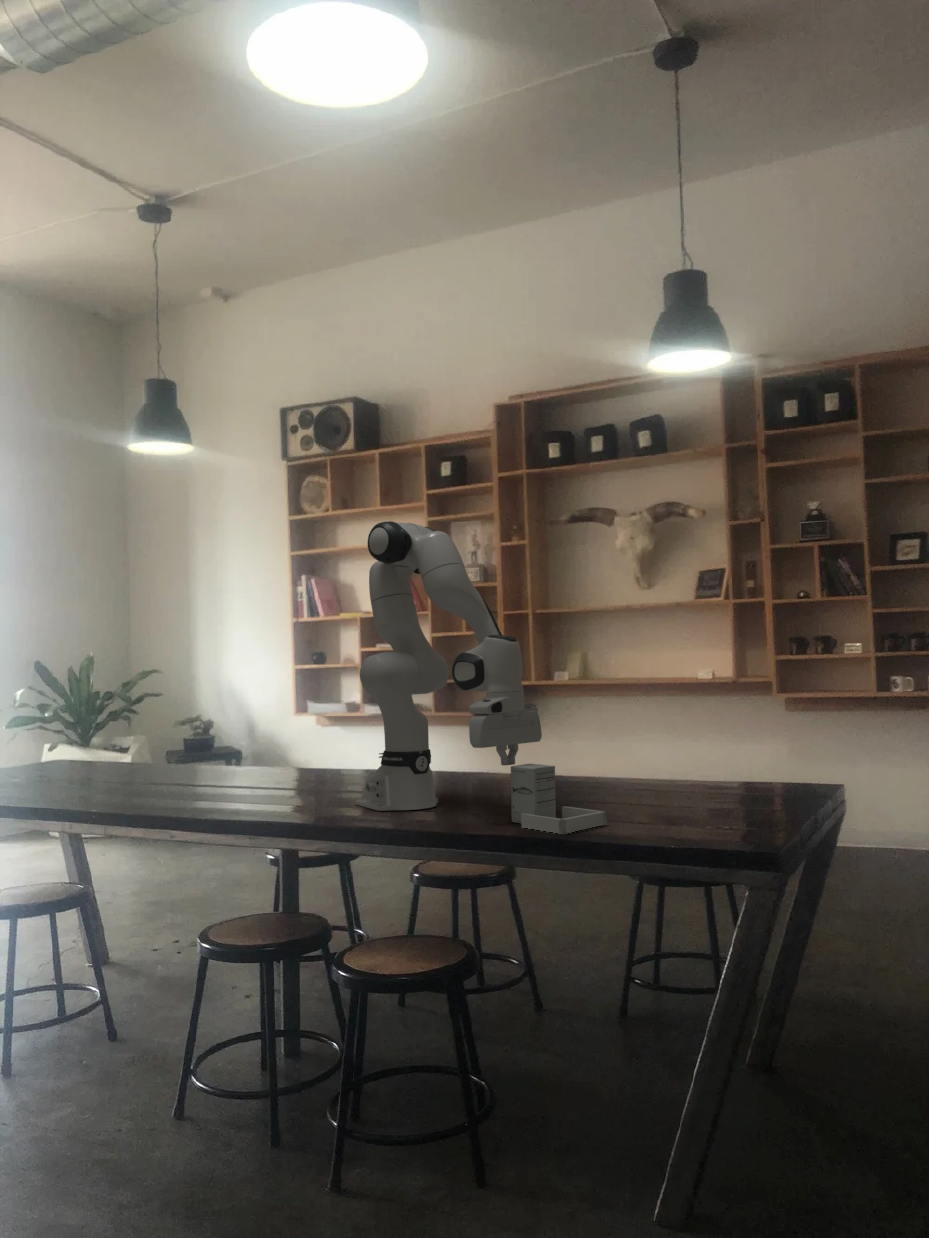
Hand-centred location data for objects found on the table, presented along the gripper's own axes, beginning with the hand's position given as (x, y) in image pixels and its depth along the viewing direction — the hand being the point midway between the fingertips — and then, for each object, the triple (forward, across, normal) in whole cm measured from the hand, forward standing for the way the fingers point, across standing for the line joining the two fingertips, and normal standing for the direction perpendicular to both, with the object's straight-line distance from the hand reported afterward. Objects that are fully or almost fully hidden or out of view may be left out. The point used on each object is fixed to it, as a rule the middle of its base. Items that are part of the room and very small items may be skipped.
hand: (508, 764), depth 217 cm
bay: (+13, 0, +16) cm, 21 cm away
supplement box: (+13, 0, +7) cm, 15 cm away
